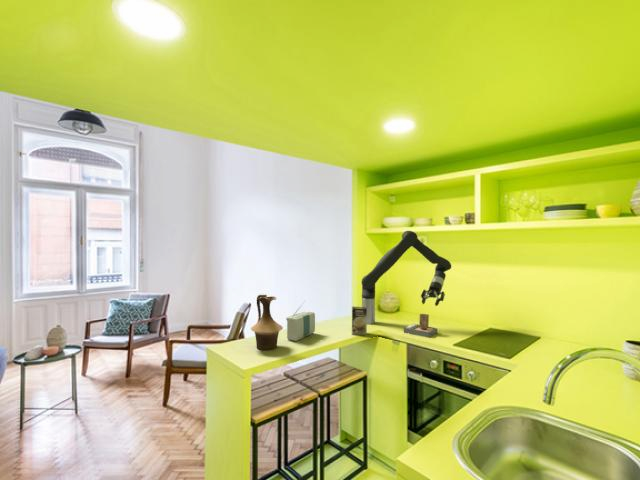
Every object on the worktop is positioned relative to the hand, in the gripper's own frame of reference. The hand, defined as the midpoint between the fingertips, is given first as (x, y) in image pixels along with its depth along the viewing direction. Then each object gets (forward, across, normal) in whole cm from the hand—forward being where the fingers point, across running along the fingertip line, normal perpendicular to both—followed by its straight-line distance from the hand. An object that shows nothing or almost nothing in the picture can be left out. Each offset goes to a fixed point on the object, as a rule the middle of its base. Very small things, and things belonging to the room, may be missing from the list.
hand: (429, 304), depth 205 cm
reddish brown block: (+16, 0, +4) cm, 17 cm away
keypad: (+18, -2, +5) cm, 19 cm away
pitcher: (+77, -49, -53) cm, 106 cm away
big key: (+18, 0, +5) cm, 19 cm away
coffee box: (+38, -28, -14) cm, 50 cm away
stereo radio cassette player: (+59, -50, -34) cm, 84 cm away
